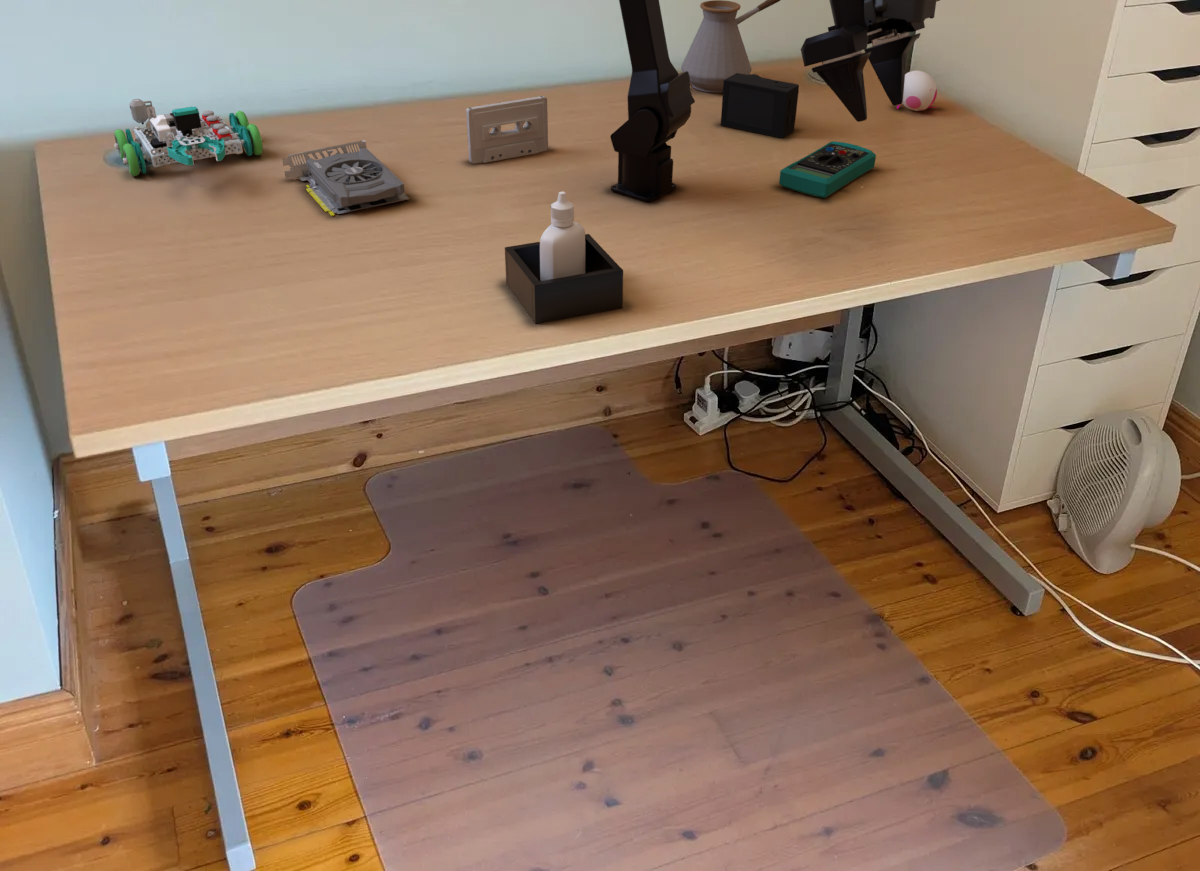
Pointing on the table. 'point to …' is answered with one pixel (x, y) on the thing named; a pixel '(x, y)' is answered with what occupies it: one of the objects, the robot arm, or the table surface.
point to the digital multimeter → (827, 169)
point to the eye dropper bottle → (562, 243)
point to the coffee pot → (718, 46)
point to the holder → (564, 283)
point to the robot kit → (183, 137)
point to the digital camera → (759, 104)
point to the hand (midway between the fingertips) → (880, 112)
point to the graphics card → (346, 179)
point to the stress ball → (918, 91)
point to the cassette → (510, 141)
